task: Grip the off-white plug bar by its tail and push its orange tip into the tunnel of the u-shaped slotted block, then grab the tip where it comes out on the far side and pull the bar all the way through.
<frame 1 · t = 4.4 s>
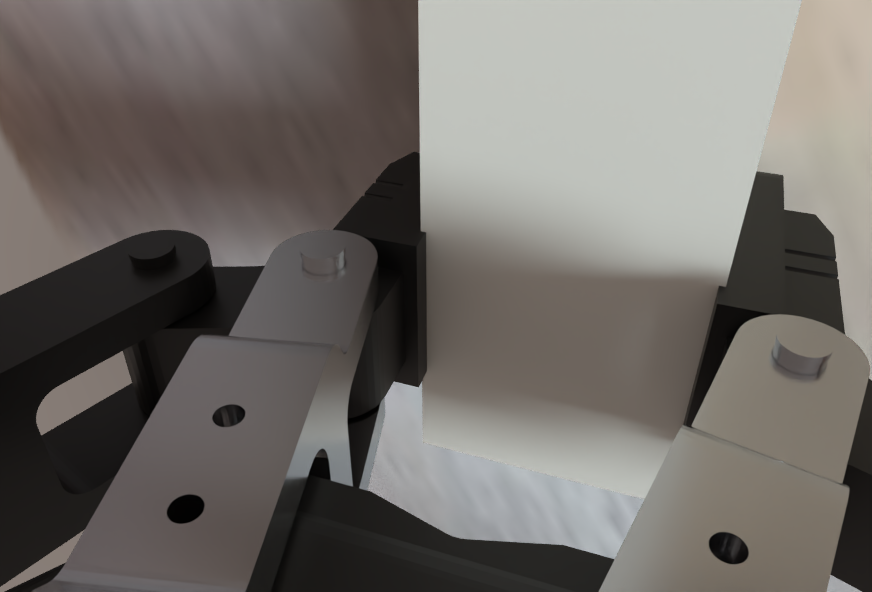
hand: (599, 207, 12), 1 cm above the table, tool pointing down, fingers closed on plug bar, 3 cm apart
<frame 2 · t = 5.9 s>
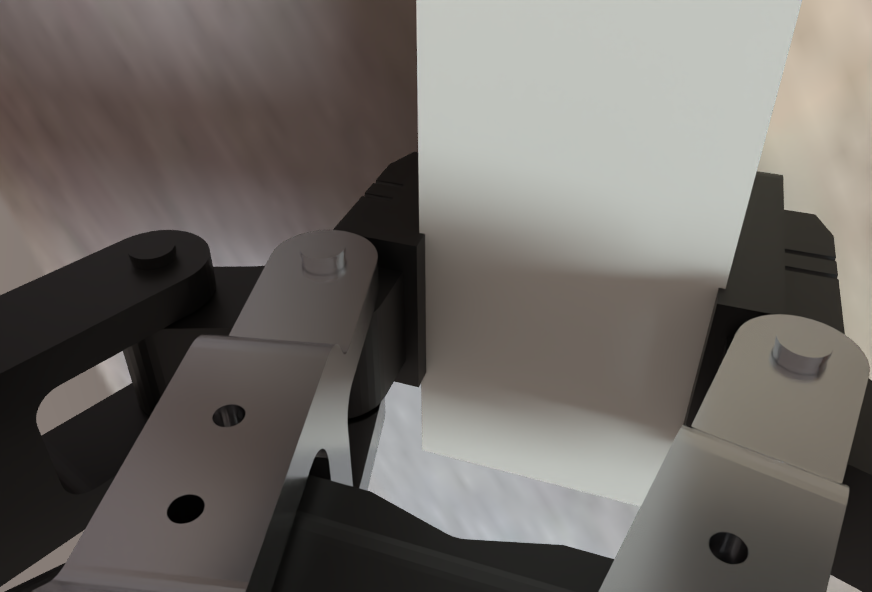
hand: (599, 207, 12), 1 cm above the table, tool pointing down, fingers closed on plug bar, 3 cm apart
when the fingers open (1 cm above the table, at t = 7.5 s): plug bar stays where it is, on the table.
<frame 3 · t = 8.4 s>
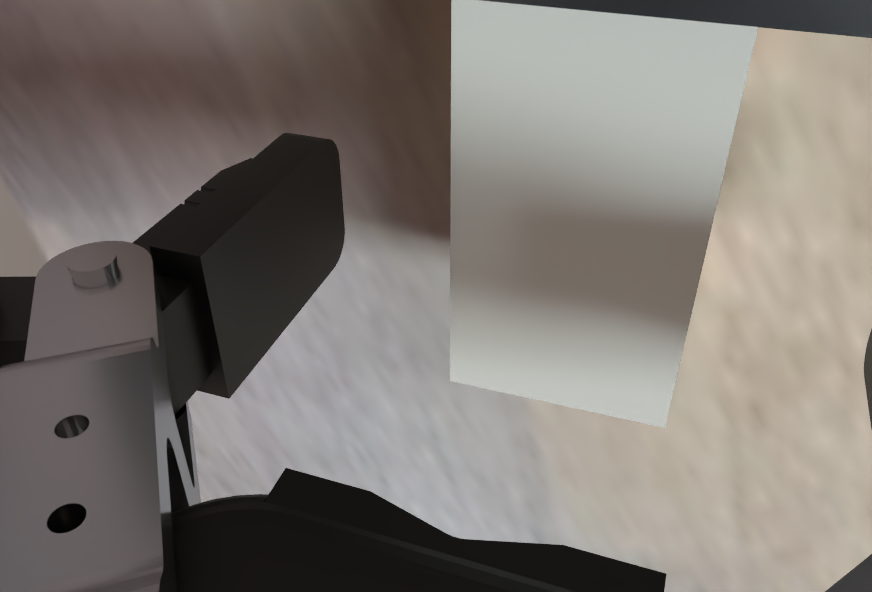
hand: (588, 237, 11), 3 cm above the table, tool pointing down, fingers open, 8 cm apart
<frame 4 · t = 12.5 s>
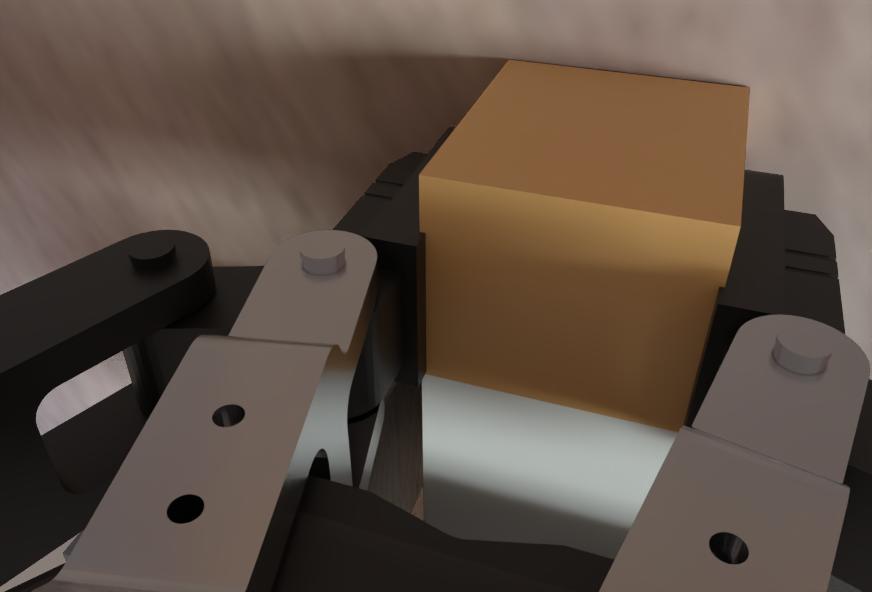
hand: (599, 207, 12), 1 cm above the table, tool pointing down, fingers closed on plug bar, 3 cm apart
plug bar: (570, 452, 16), on the table, touching gripper
u-shaped slotted block: (572, 412, 16), on the table
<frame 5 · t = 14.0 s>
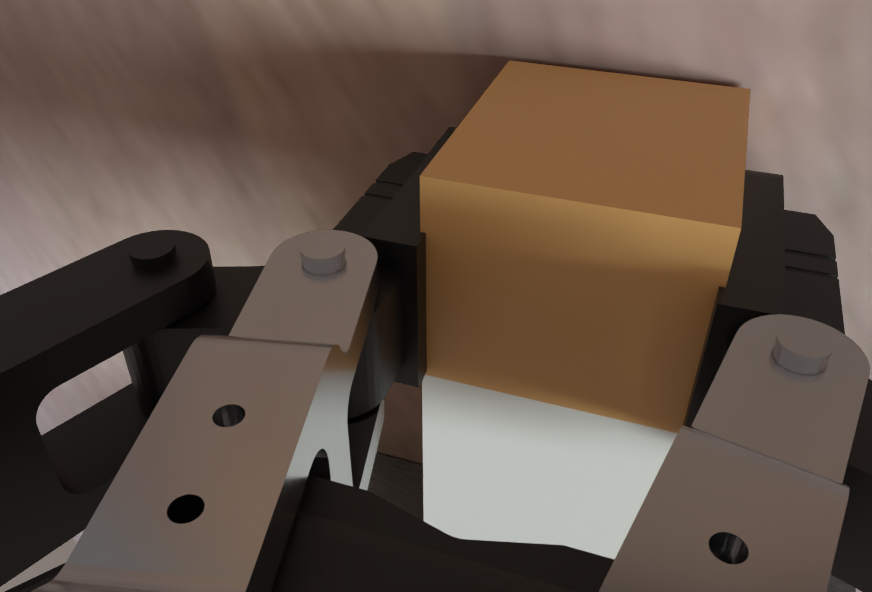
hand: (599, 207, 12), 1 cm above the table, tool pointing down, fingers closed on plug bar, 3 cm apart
plug bar: (569, 452, 16), on the table, touching gripper
u-shaped slotted block: (560, 561, 19), on the table
when the fingers open (1 cm above the table, at t = 15.9 s): plug bar stays where it is, on the table.
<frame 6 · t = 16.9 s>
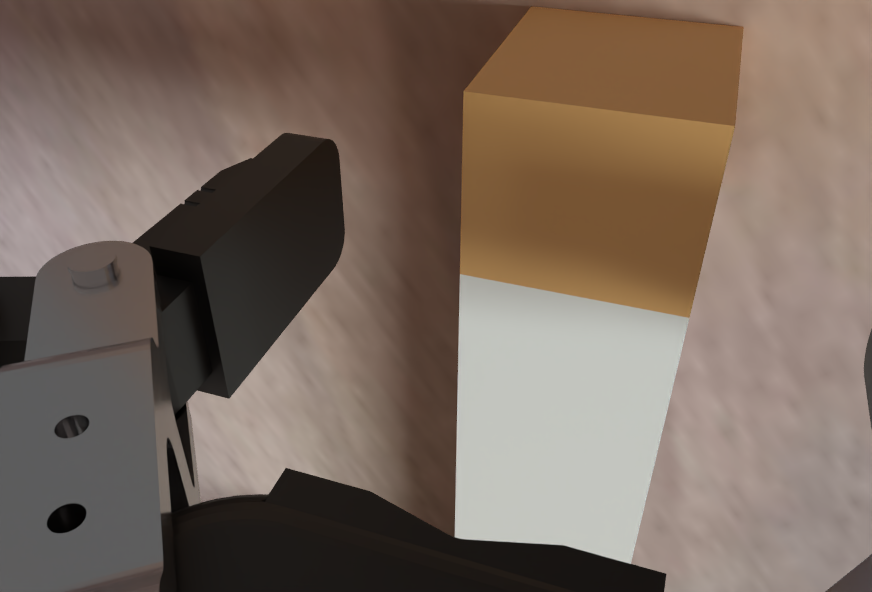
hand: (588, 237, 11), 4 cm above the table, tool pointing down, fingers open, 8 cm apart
plug bar: (582, 373, 18), on the table
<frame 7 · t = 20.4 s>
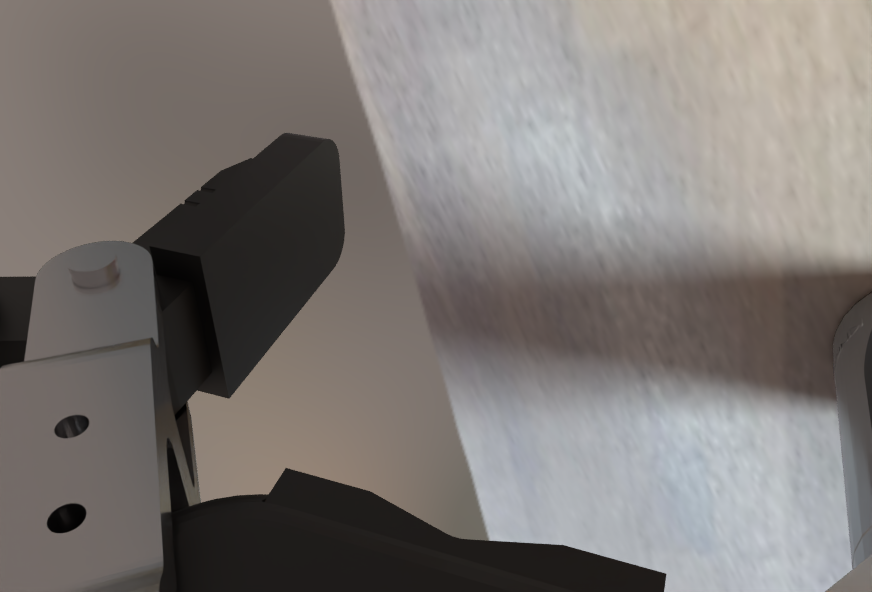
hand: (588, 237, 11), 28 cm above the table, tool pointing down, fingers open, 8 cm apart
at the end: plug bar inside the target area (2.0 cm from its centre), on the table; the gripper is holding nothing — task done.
